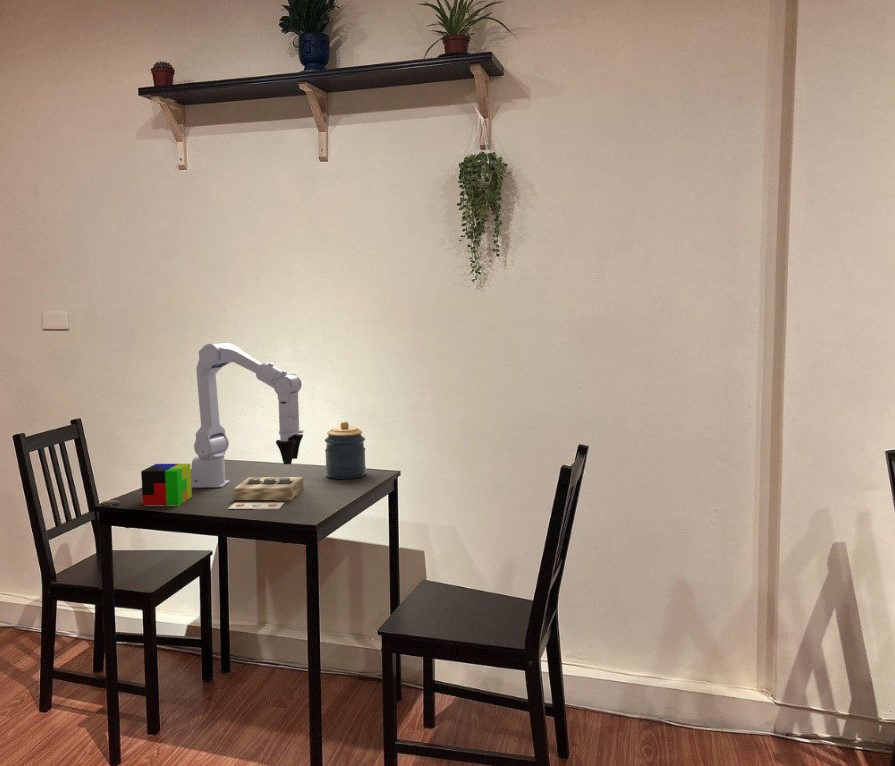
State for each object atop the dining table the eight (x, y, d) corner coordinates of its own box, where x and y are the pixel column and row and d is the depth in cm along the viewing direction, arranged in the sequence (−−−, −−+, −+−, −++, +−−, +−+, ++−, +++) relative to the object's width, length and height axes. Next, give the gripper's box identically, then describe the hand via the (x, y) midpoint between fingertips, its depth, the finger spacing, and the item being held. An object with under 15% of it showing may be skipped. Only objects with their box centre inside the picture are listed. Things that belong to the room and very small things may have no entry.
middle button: (262, 487, 220) (262, 480, 219) (265, 484, 223) (265, 478, 223) (273, 487, 220) (273, 480, 219) (276, 484, 223) (276, 478, 223)
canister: (359, 480, 238) (358, 424, 236) (320, 479, 240) (318, 424, 239) (370, 471, 251) (369, 418, 249) (333, 470, 253) (331, 418, 251)
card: (227, 509, 205) (227, 508, 205) (234, 503, 211) (234, 502, 211) (279, 509, 205) (278, 508, 205) (284, 503, 211) (284, 502, 211)
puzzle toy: (157, 497, 220) (156, 463, 219) (191, 497, 219) (190, 463, 218) (142, 506, 210) (141, 471, 209) (178, 506, 209) (176, 471, 208)
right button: (278, 487, 219) (277, 480, 219) (280, 484, 223) (280, 478, 222) (289, 487, 219) (288, 480, 219) (291, 484, 223) (291, 477, 222)
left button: (247, 487, 220) (247, 480, 220) (250, 484, 223) (250, 478, 223) (258, 487, 220) (258, 480, 220) (261, 484, 223) (261, 478, 223)
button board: (234, 500, 215) (233, 488, 214) (249, 488, 229) (248, 477, 228) (292, 500, 214) (291, 488, 214) (303, 488, 228) (303, 477, 228)
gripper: (296, 419, 216) (298, 466, 217) (307, 412, 230) (309, 456, 231) (272, 419, 216) (274, 466, 217) (284, 412, 230) (286, 456, 232)
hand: (290, 461), depth 224 cm, fingers open, 7 cm apart
